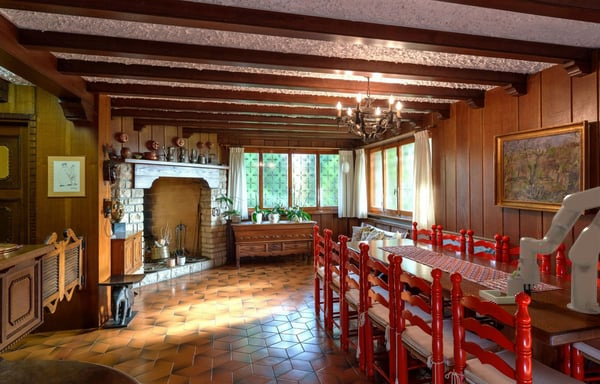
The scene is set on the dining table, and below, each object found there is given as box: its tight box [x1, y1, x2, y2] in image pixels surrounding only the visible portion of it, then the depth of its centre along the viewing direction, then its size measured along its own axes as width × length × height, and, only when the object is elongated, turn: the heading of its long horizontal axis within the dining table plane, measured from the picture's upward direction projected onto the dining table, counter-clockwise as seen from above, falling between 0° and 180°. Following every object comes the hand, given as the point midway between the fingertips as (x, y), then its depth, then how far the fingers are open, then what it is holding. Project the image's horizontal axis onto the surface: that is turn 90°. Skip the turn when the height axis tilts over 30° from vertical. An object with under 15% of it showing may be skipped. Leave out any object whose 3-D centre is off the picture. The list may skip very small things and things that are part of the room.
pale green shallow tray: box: [478, 289, 516, 305], centre depth 184 cm, size 13×11×3 cm
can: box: [506, 274, 524, 297], centre depth 185 cm, size 8×8×12 cm
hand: (527, 296), depth 186 cm, fingers closed
